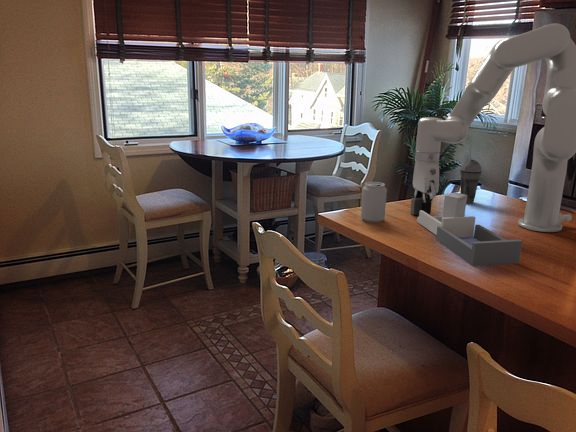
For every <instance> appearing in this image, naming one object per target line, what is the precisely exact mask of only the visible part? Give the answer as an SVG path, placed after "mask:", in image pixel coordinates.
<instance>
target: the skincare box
mask: <svg viewBox="0 0 576 432" xmlns="http://www.w3.org/2000/svg"><path fill="white" fill-rule="evenodd" d="M466 201H467V195H465V194H460V193H459V192H452V193H448V194H446V195H444V200H443V208H442V209H443V210H442V215H441V216H442V218H446V217H466V208H467V204H466Z"/></svg>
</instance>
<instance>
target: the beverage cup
mask: <svg viewBox="0 0 576 432" xmlns="http://www.w3.org/2000/svg"><path fill="white" fill-rule="evenodd" d="M468 149H469V155H468V156H469V157H468V158H469V159H467V160H465V161H464V162H463V163H462V165H461V167H460V170H459V171H460V172H459V173H460V194H465V195H467V201H466V205H471V204H474V202H475V199H476V194H477V189H478V184H479V179H480V177H481V174H482V167H481V164H480V163H479V162H478V161H477V160H475V159H472V147H471V146H469V148H468Z"/></svg>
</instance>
